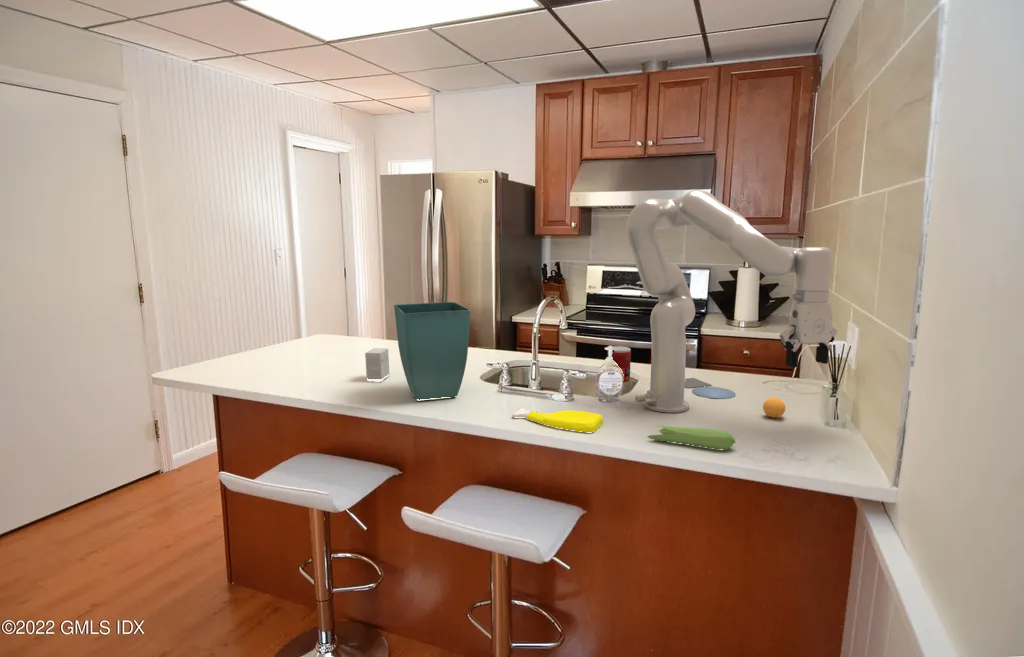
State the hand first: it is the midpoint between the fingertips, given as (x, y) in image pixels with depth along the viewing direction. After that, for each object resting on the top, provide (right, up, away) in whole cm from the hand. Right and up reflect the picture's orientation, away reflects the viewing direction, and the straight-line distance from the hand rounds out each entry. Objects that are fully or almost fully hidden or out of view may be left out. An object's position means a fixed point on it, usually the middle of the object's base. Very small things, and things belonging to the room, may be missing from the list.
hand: (806, 364), depth 140 cm
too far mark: (-15, -9, +46) cm, 49 cm away
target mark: (-11, -11, +35) cm, 38 cm away
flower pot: (-99, -12, +35) cm, 106 cm away
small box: (-122, -9, +55) cm, 134 cm away
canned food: (-38, -9, +52) cm, 65 cm away
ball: (-3, -13, +11) cm, 17 cm away
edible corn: (-32, -19, -7) cm, 38 cm away
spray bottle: (-63, -17, +10) cm, 66 cm away
